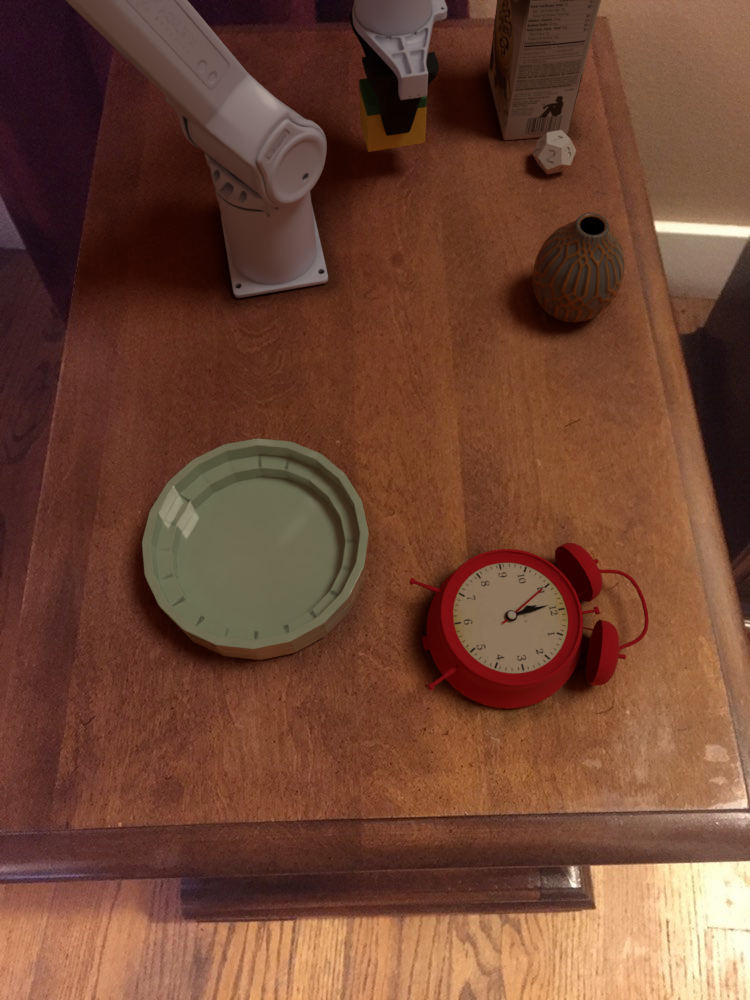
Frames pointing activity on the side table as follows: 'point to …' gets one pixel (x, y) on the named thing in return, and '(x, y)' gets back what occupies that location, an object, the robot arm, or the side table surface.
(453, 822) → the side table surface
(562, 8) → the coffee box
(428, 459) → the side table surface
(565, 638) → the alarm clock
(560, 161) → the game die
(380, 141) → the sponge
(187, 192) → the side table surface
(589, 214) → the vase
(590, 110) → the side table surface
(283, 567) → the bowl
